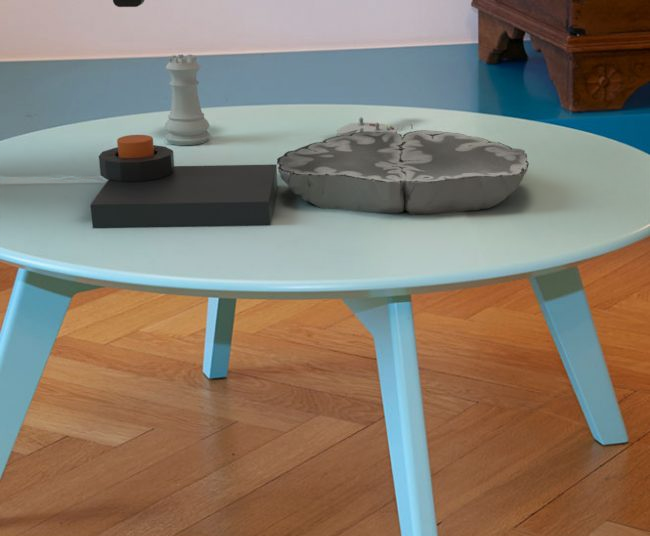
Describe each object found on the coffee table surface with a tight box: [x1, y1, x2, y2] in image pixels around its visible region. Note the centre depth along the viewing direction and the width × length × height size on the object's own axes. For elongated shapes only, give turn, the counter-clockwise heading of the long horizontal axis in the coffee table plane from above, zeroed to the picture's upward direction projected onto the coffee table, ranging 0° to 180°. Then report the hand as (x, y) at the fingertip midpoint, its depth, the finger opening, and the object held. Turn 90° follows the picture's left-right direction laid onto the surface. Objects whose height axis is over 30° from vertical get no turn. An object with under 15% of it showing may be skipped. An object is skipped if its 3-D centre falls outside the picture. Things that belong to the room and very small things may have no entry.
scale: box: [89, 144, 278, 229], centre depth 88 cm, size 14×12×4 cm
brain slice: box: [276, 129, 529, 215], centre depth 91 cm, size 20×17×3 cm
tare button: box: [116, 134, 154, 158], centre depth 90 cm, size 3×3×2 cm
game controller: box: [335, 116, 413, 136], centre depth 107 cm, size 6×12×3 cm, turn 167°
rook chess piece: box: [163, 54, 212, 146], centre depth 108 cm, size 4×4×8 cm
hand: (129, 5), depth 87 cm, fingers closed
